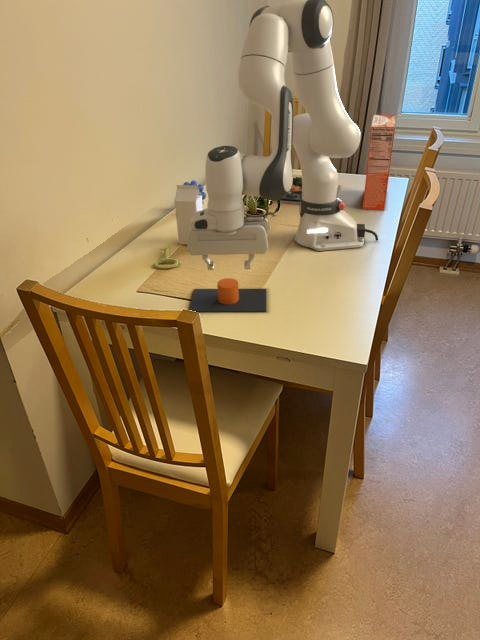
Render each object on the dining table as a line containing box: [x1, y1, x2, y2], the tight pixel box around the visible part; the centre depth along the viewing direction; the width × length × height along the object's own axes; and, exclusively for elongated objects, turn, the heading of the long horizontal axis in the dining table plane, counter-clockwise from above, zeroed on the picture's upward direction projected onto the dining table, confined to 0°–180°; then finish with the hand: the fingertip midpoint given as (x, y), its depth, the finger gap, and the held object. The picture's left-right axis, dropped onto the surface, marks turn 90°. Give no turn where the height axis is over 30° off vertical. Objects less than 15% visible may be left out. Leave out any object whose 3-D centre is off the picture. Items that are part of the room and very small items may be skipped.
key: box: [153, 246, 179, 270], centre depth 155 cm, size 7×12×2 cm, turn 23°
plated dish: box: [271, 175, 340, 205], centre depth 209 cm, size 35×28×7 cm
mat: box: [188, 288, 267, 313], centre depth 134 cm, size 20×12×1 cm, turn 88°
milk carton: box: [174, 184, 204, 245], centre depth 164 cm, size 7×7×19 cm
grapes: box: [182, 179, 207, 207], centre depth 192 cm, size 12×7×12 cm, turn 73°
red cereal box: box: [362, 114, 396, 211], centre depth 192 cm, size 23×8×30 cm, turn 165°
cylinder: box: [216, 277, 240, 305], centre depth 132 cm, size 6×6×5 cm
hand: (229, 268), depth 129 cm, fingers open, 8 cm apart
